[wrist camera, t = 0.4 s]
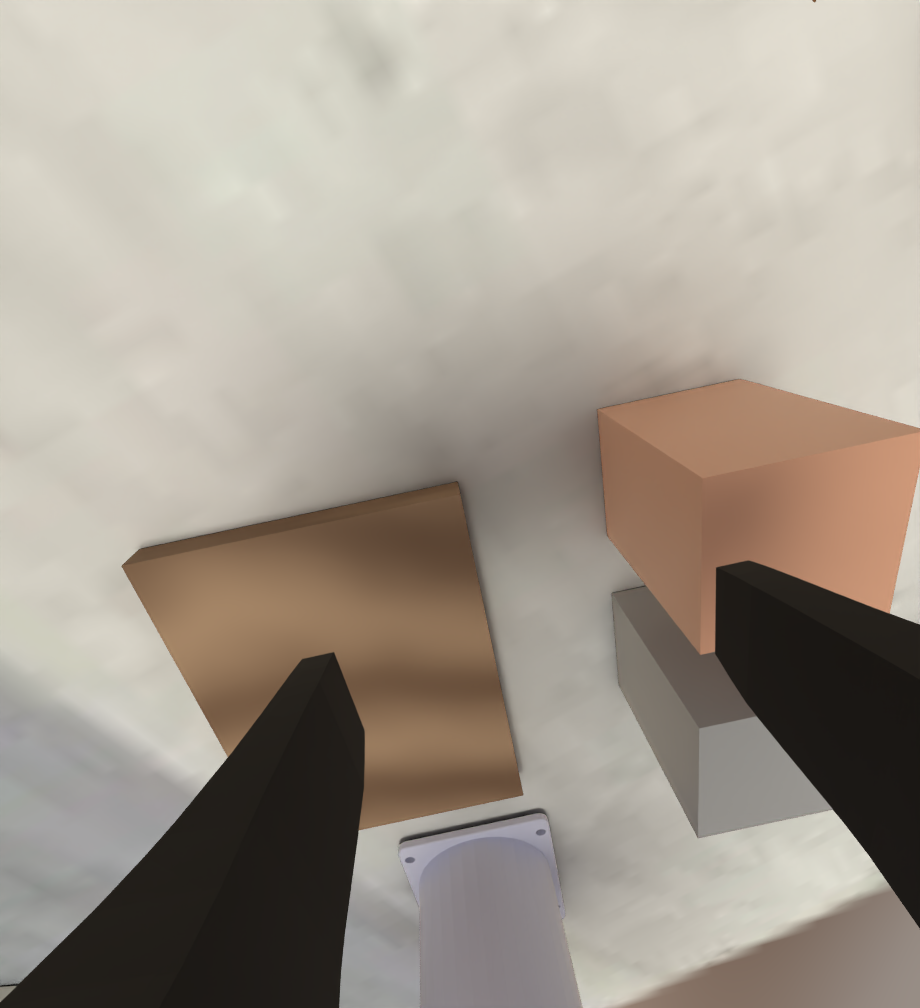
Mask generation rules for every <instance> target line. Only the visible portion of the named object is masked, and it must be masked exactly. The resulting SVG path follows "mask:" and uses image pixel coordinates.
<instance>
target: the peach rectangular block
mask: <svg viewBox="0 0 920 1008" xmlns="http://www.w3.org/2000/svg"><path fill="white" fill-rule="evenodd" d="M597 412H598V424H599V437H600V450H601V463H602V476H603V489H604V501H605V514H606V527H607V536H608V538H609V539H610V540H611V541H612V543H613V544H614V545H615V547H616V548H617V549H618V550H619V552H620V553H621V554H622V555H623V557H624V558H625V559H626V561H627V562H628V563H629V564H630V566H631V567H632V568H633V570H634V571H635V572H636V573H637V575H638V576H639V577H640V578H641V580H642V581H643V582H644V584H645V585H646V586H647V587H648V589H649V590H650V591H651V593H652V594H653V595H654V596H655V598H656V599H657V600H658V601H659V603H660V604H661V605H662V607H663V608H664V609H665V610H666V612H667V613H668V614H669V616H670V617H671V618H672V619H673V621H674V622H675V623H676V624H677V626H678V627H679V628H680V630H681V631H682V632H683V633H684V635H685V636H686V637H687V639H688V640H689V641H690V642H691V644H692V645H693V646H694V647H695V649H696V650H697V651H698V653H699V654H700V655H702V654H707V653H712V652H715V610H716V567H720V566H725V565H729V564H734V563H738V562H743V561H747V560H749V561H753V562H756V563H759V564H762V565H765V566H767V567H770V568H773V569H776V570H778V571H781V572H784V573H786V574H789V575H791V576H794V577H797V578H799V579H802V580H804V581H807V582H809V583H812V584H814V585H817V586H819V587H822V588H825V589H827V590H830V591H832V592H835V593H837V594H840V595H842V596H845V597H847V598H850V599H853V600H855V601H858V602H860V603H863V604H866V605H868V606H871V607H873V608H876V609H879V610H881V611H884V612H887V613H890V608H891V604H892V599H893V594H894V589H895V584H896V579H897V574H898V570H899V565H900V560H901V555H902V550H903V545H904V541H905V536H906V531H907V526H908V521H909V516H910V512H911V507H912V502H913V497H914V492H915V487H916V483H917V478H918V473H919V468H920V428H916V427H913V426H909V425H906V424H902V423H898V422H895V421H891V420H887V419H884V418H880V417H877V416H873V415H869V414H866V413H862V412H858V411H855V410H851V409H848V408H844V407H840V406H837V405H833V404H829V403H826V402H822V401H819V400H815V399H811V398H808V397H804V396H800V395H797V394H793V393H790V392H786V391H782V390H779V389H775V388H771V387H768V386H764V385H761V384H757V383H753V382H750V381H746V380H742V379H737V380H733V381H728V382H723V383H718V384H714V385H709V386H704V387H700V388H695V389H690V390H685V391H681V392H676V393H671V394H667V395H662V396H657V397H652V398H648V399H643V400H638V401H634V402H629V403H624V404H619V405H615V406H610V407H605V408H601V409H597Z"/></svg>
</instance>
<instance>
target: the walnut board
mask: <svg viewBox="0 0 920 1008" xmlns="http://www.w3.org/2000/svg"><path fill="white" fill-rule="evenodd" d="M122 568H123V570H124V571H125V573H126V575H127V577H128V579H129V580H130V582H131V584H132V586H133V588H134V589H135V591H136V593H137V595H138V597H139V598H140V600H141V602H142V604H143V605H144V607H145V609H146V611H147V613H148V614H149V616H150V618H151V620H152V622H153V623H154V625H155V627H156V629H157V631H158V632H159V634H160V636H161V638H162V640H163V641H164V643H165V645H166V647H167V649H168V650H169V652H170V654H171V656H172V658H173V659H174V661H175V663H176V665H177V667H178V668H179V670H180V672H181V674H182V675H183V677H184V679H185V681H186V683H187V684H188V686H189V688H190V690H191V692H192V693H193V695H194V697H195V699H196V701H197V702H198V704H199V706H200V708H201V710H202V711H203V713H204V715H205V717H206V719H207V720H208V722H209V724H210V726H211V728H212V729H213V731H214V733H215V735H216V736H217V738H218V740H219V742H220V744H221V745H222V747H223V749H224V751H225V753H226V754H227V756H228V757H229V755H230V754H231V753H232V752H233V750H234V749H235V748H236V746H237V745H238V744H239V742H240V741H241V740H242V738H243V737H244V736H245V734H246V733H247V732H248V730H249V729H250V728H251V726H252V725H253V724H254V722H255V721H256V720H257V719H258V717H259V716H260V715H261V713H262V712H263V711H264V709H265V708H266V706H267V705H268V704H269V702H270V701H271V700H272V698H273V697H274V696H275V694H276V693H277V691H278V690H279V689H280V687H281V686H282V685H283V683H284V682H285V681H286V679H287V678H288V677H289V675H290V674H291V673H292V671H293V670H294V669H295V667H296V666H297V665H298V663H299V662H300V661H301V660H302V659H305V658H309V657H314V656H318V655H323V654H327V653H332V652H334V653H335V656H336V658H337V661H338V663H339V666H340V668H341V671H342V674H343V676H344V679H345V681H346V684H347V686H348V689H349V691H350V694H351V697H352V699H353V702H354V704H355V707H356V709H357V712H358V714H359V717H360V720H361V722H362V725H363V727H364V730H365V771H364V792H363V800H362V808H361V816H360V824H359V830H362V829H367V828H372V827H376V826H381V825H386V824H390V823H395V822H400V821H405V820H409V819H414V818H419V817H423V816H428V815H433V814H438V813H442V812H447V811H452V810H456V809H461V808H466V807H470V806H475V805H480V804H485V803H489V802H494V801H499V800H503V799H508V798H513V797H517V796H522V795H523V791H522V786H521V781H520V777H519V772H518V767H517V762H516V757H515V753H514V748H513V743H512V738H511V734H510V729H509V724H508V719H507V715H506V710H505V705H504V700H503V695H502V691H501V686H500V681H499V676H498V672H497V667H496V662H495V657H494V653H493V648H492V643H491V638H490V633H489V629H488V624H487V619H486V614H485V610H484V605H483V600H482V595H481V591H480V586H479V581H478V576H477V571H476V567H475V562H474V557H473V552H472V548H471V543H470V538H469V533H468V529H467V524H466V519H465V514H464V509H463V505H462V500H461V495H460V491H459V486H458V482H454V483H449V484H444V485H440V486H435V487H430V488H426V489H421V490H416V491H411V492H407V493H402V494H397V495H393V496H388V497H383V498H378V499H374V500H369V501H364V502H360V503H355V504H350V505H345V506H341V507H336V508H331V509H327V510H322V511H317V512H312V513H308V514H303V515H298V516H294V517H289V518H284V519H279V520H275V521H270V522H265V523H261V524H256V525H251V526H246V527H242V528H237V529H232V530H228V531H223V532H218V533H213V534H209V535H204V536H199V537H195V538H190V539H185V540H180V541H176V542H171V543H166V544H162V545H157V546H152V547H147V548H143V549H139V550H138V551H137V552H136V553H135V554H134V555H133V556H131V557H130V558H129V559H128V560H127V561H126V562H125V563H124V564H123V565H122Z"/></svg>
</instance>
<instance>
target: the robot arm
mask: <svg viewBox="0 0 920 1008" xmlns="http://www.w3.org/2000/svg"><path fill="white" fill-rule="evenodd" d="M715 654H716V656H717V658H718V659H719V661H720V663H721V664H722V666H723V668H724V669H725V671H726V672H727V674H728V676H729V677H730V679H731V681H732V682H733V684H734V685H735V687H736V688H737V690H738V691H739V693H740V694H741V696H742V697H743V699H744V700H745V702H746V703H747V705H748V706H749V707H750V708H751V710H752V711H753V712H754V714H755V715H756V716H757V717H758V719H759V720H760V721H761V722H762V723H763V725H764V726H765V727H766V728H767V730H768V731H769V732H770V733H771V735H772V736H773V737H774V738H775V740H776V741H777V742H778V743H779V744H780V746H781V747H782V748H783V749H784V751H785V752H786V753H787V754H788V755H789V757H790V758H791V759H792V760H793V762H794V763H795V764H796V765H797V766H798V768H799V769H800V770H801V771H802V772H803V774H804V775H805V776H806V777H807V779H808V780H809V781H810V782H811V783H812V785H813V786H814V787H815V788H816V789H817V791H818V792H819V793H820V794H821V796H822V797H823V798H824V799H825V800H826V802H827V803H828V804H829V805H830V807H831V808H832V809H833V810H834V811H835V813H836V814H837V815H838V816H839V817H840V819H841V820H842V821H843V822H844V824H845V825H846V826H847V827H848V829H849V830H850V831H851V833H852V834H853V835H854V837H855V838H856V839H857V840H858V842H859V843H860V844H861V846H862V847H863V848H864V850H865V851H866V852H867V853H868V855H869V856H870V858H871V859H872V860H873V862H874V863H875V865H876V866H877V868H878V869H879V870H880V872H881V873H882V875H883V876H884V878H885V879H886V881H887V882H888V883H889V885H890V886H891V888H892V889H893V891H894V892H895V893H896V895H897V896H898V898H899V899H900V901H901V902H902V904H903V905H904V906H905V908H906V909H907V911H908V912H909V914H910V915H911V916H912V918H913V919H914V921H915V922H916V924H917V925H918V926H919V928H920V625H919V624H916V623H914V622H911V621H908V620H905V619H903V618H900V617H897V616H895V615H892V614H889V613H887V612H884V611H881V610H879V609H876V608H873V607H871V606H868V605H866V604H863V603H860V602H858V601H855V600H853V599H850V598H847V597H845V596H842V595H840V594H837V593H835V592H832V591H830V590H827V589H825V588H822V587H819V586H817V585H814V584H812V583H809V582H807V581H804V580H802V579H799V578H797V577H794V576H791V575H789V574H786V573H784V572H781V571H778V570H776V569H773V568H770V567H767V566H765V565H762V564H759V563H756V562H753V561H749V560H747V561H743V562H738V563H734V564H729V565H725V566H720V567H716V610H715ZM364 771H365V730H364V727H363V725H362V722H361V720H360V717H359V714H358V712H357V709H356V707H355V704H354V702H353V699H352V697H351V694H350V691H349V689H348V686H347V684H346V681H345V679H344V676H343V674H342V671H341V668H340V666H339V663H338V661H337V658H336V656H335V653H334V652H332V653H327V654H323V655H318V656H314V657H309V658H305V659H302V660H301V661H300V662H299V663H298V665H297V666H296V667H295V669H294V670H293V671H292V673H291V674H290V675H289V677H288V678H287V679H286V681H285V682H284V683H283V685H282V686H281V687H280V689H279V690H278V691H277V693H276V694H275V696H274V697H273V698H272V700H271V701H270V702H269V704H268V705H267V706H266V708H265V709H264V711H263V712H262V713H261V715H260V716H259V717H258V719H257V720H256V721H255V722H254V724H253V725H252V726H251V728H250V729H249V730H248V732H247V733H246V734H245V736H244V737H243V738H242V740H241V741H240V742H239V744H238V745H237V746H236V748H235V749H234V750H233V752H232V753H231V754H230V755H229V757H228V758H227V759H226V761H225V762H224V763H223V764H222V765H221V767H220V768H219V769H218V770H217V772H216V773H215V774H214V775H213V776H212V778H211V779H210V780H209V781H208V783H207V784H206V785H205V786H204V787H203V789H202V790H201V791H200V792H199V794H198V795H197V796H196V797H195V798H194V800H193V801H192V802H191V803H190V805H189V806H188V807H187V808H186V809H185V811H184V812H183V813H182V814H181V816H180V817H179V818H178V819H177V820H176V822H175V823H174V824H173V825H172V826H171V827H170V828H169V830H168V831H167V832H166V833H165V834H164V835H163V836H162V838H161V839H160V840H159V841H158V842H157V843H156V844H155V845H154V847H153V848H152V849H151V850H150V851H149V852H148V853H147V854H146V856H145V857H144V858H143V859H142V860H141V861H140V862H139V863H138V864H137V865H136V866H135V867H134V868H133V869H132V871H131V872H130V873H129V874H128V875H127V876H126V877H125V878H124V879H123V880H122V881H121V882H120V883H119V884H118V886H117V887H116V888H115V889H114V890H113V891H112V892H111V893H110V894H109V895H108V896H107V897H106V898H105V899H104V900H103V901H102V902H101V903H100V905H99V906H98V907H97V908H96V909H95V910H94V911H93V912H92V913H91V914H90V915H89V916H88V917H87V918H86V919H85V920H84V921H83V922H82V923H81V924H80V925H79V926H78V927H77V928H76V929H74V930H73V931H72V932H71V933H70V934H69V935H68V936H67V937H66V938H65V939H64V940H63V941H62V942H61V943H60V944H59V945H58V946H57V947H56V948H55V949H54V950H53V951H52V952H51V953H50V954H49V955H48V956H47V957H46V958H45V959H44V960H43V961H42V962H41V963H40V964H39V965H38V966H37V967H36V968H35V969H34V970H33V971H32V972H31V973H30V974H29V975H28V976H27V977H26V978H25V979H24V980H23V981H21V982H20V983H19V984H18V985H17V986H16V987H15V988H14V989H13V990H12V991H11V992H10V993H9V994H8V995H7V996H6V997H5V998H4V999H3V1000H2V1001H1V1002H0V1008H339V997H340V979H341V966H342V956H343V946H344V936H345V928H346V920H347V913H348V906H349V898H350V891H351V883H352V876H353V869H354V861H355V854H356V846H357V839H358V831H359V824H360V816H361V808H362V800H363V792H364ZM398 856H399V858H400V861H401V863H402V866H403V868H404V871H405V873H406V876H407V878H408V881H409V883H410V886H411V888H412V891H413V893H414V896H415V898H416V901H417V903H418V906H419V919H420V1008H583V1007H582V1003H581V999H580V994H579V990H578V986H577V982H576V977H575V973H574V969H573V965H572V960H571V956H570V952H569V947H568V943H567V939H566V935H565V930H564V926H563V922H562V919H563V918H564V917H565V908H564V903H563V897H562V892H561V887H560V881H559V876H558V870H557V865H556V859H555V854H554V848H553V843H552V838H551V832H550V827H549V822H548V818H547V816H546V815H545V814H542V813H536V814H532V815H527V816H522V817H517V818H513V819H508V820H503V821H499V822H494V823H489V824H484V825H480V826H475V827H470V828H466V829H461V830H456V831H452V832H447V833H442V834H437V835H433V836H428V837H423V838H419V839H414V840H409V841H405V842H403V843H401V844H400V845H399V847H398Z"/></svg>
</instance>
